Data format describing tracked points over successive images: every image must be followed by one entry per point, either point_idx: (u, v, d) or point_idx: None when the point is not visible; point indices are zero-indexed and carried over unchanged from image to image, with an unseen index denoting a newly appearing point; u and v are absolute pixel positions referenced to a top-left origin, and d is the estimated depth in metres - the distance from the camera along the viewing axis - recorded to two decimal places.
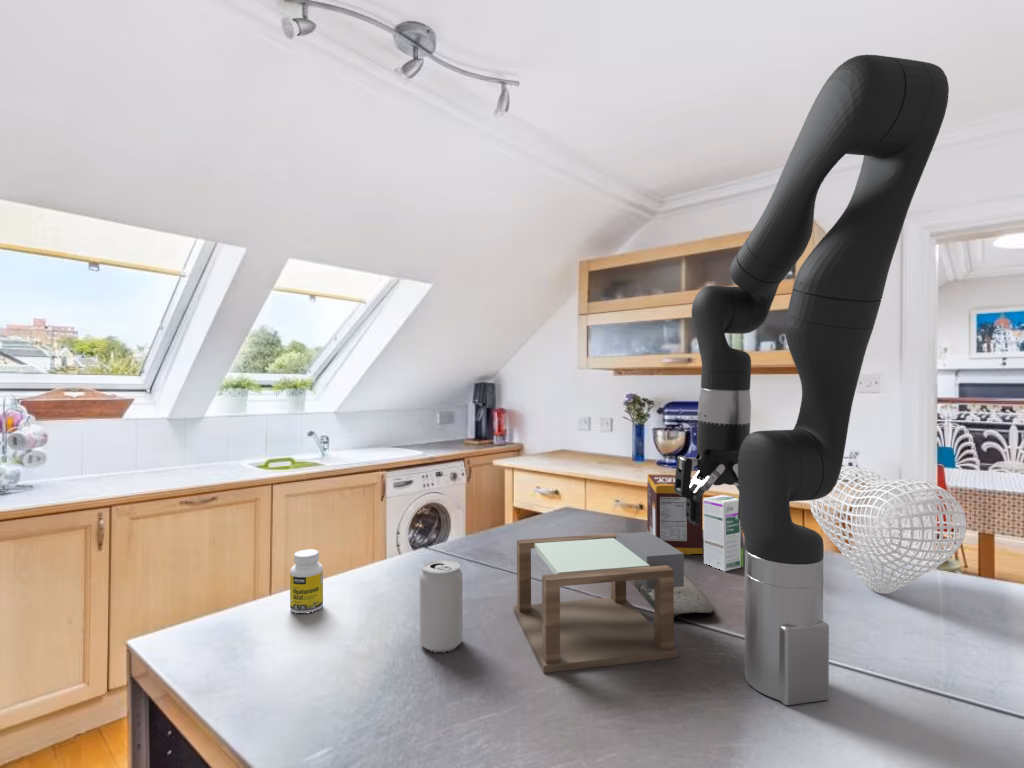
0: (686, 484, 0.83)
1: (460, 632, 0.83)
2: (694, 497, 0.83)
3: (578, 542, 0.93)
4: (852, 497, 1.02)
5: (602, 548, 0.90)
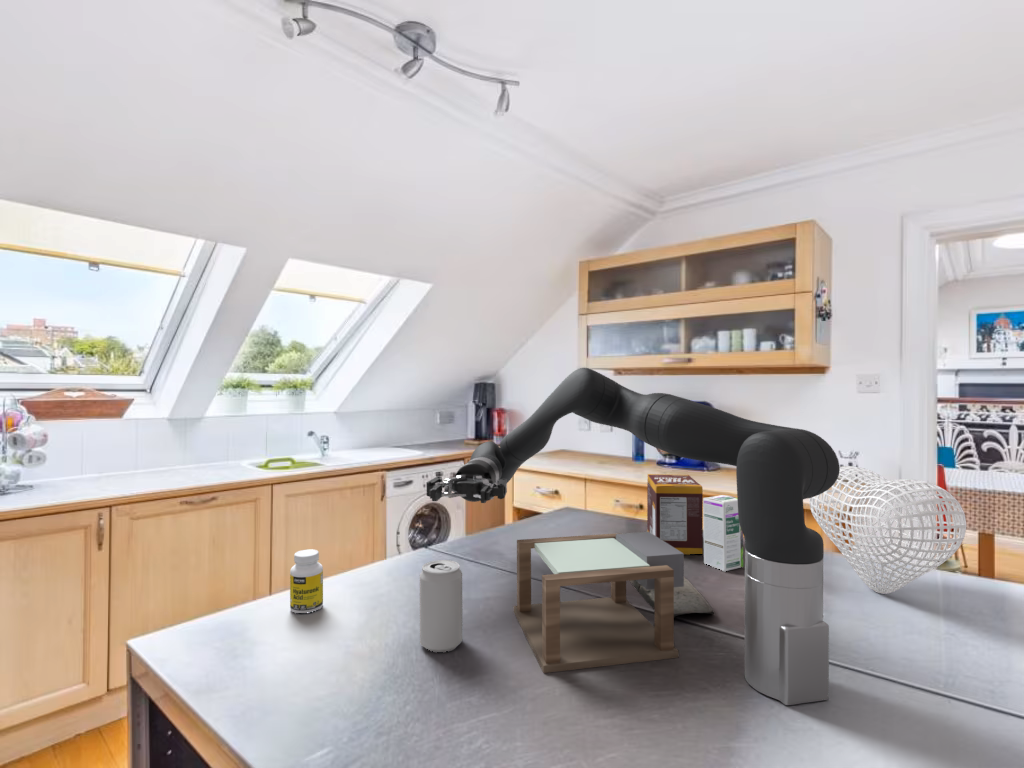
0: (432, 480, 1.02)
1: (460, 632, 0.83)
2: (436, 482, 1.00)
3: (578, 542, 0.93)
4: (852, 497, 1.02)
5: (602, 548, 0.90)
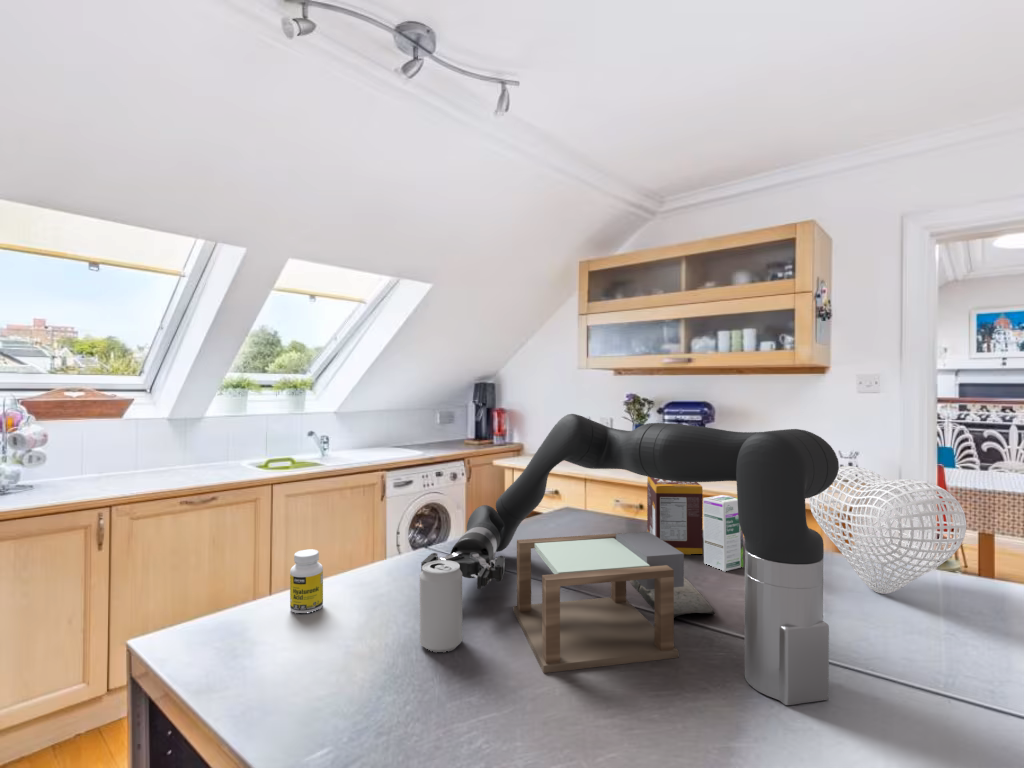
0: (428, 560, 0.98)
1: (460, 632, 0.83)
2: None
3: (578, 542, 0.93)
4: (852, 497, 1.02)
5: (602, 548, 0.90)
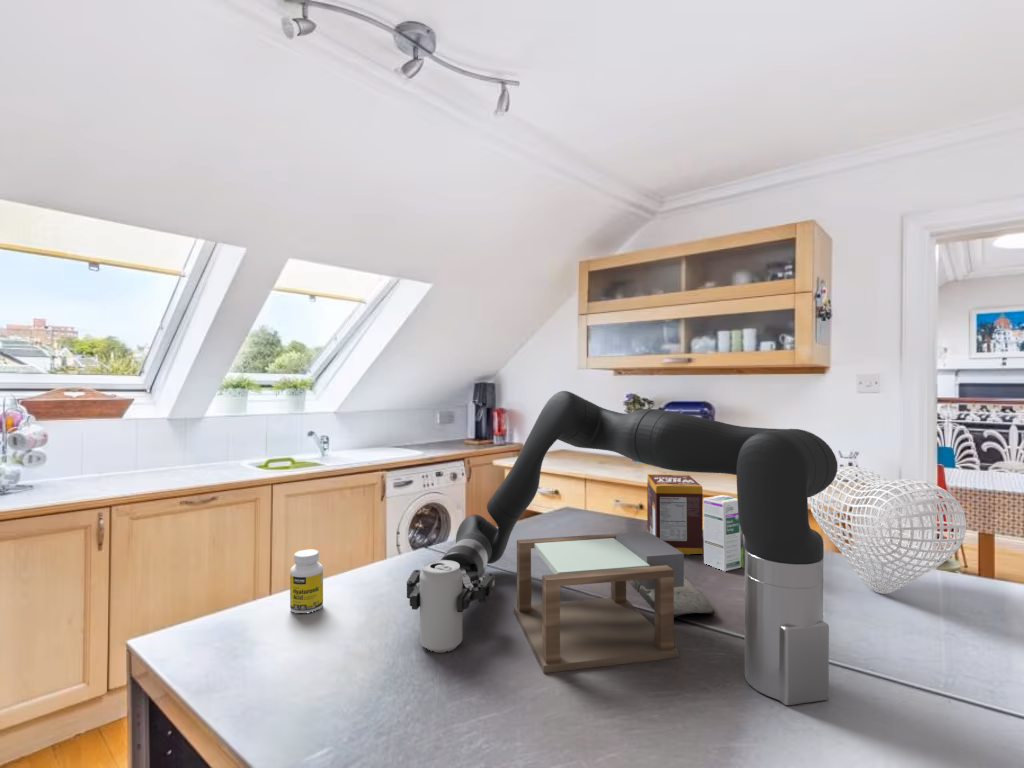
0: (413, 578, 0.88)
1: (460, 632, 0.83)
2: (418, 583, 0.86)
3: (578, 542, 0.93)
4: (852, 497, 1.02)
5: (602, 548, 0.90)
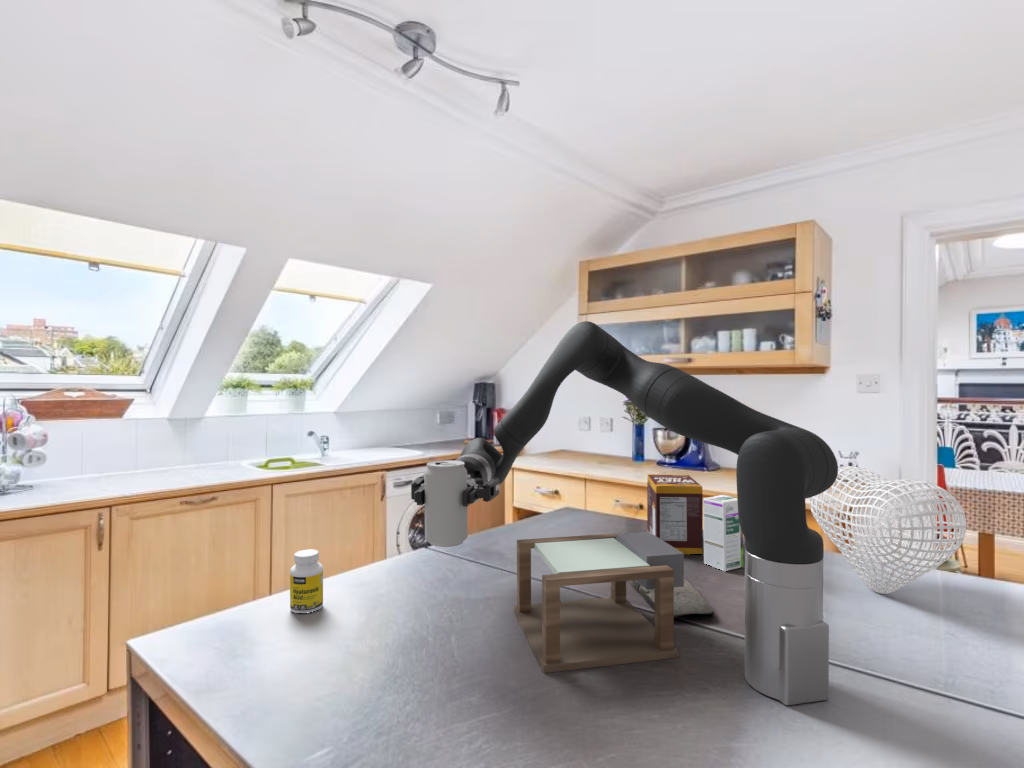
0: (417, 481, 0.88)
1: (465, 528, 0.82)
2: (422, 483, 0.86)
3: (578, 542, 0.93)
4: (852, 497, 1.02)
5: (602, 548, 0.90)
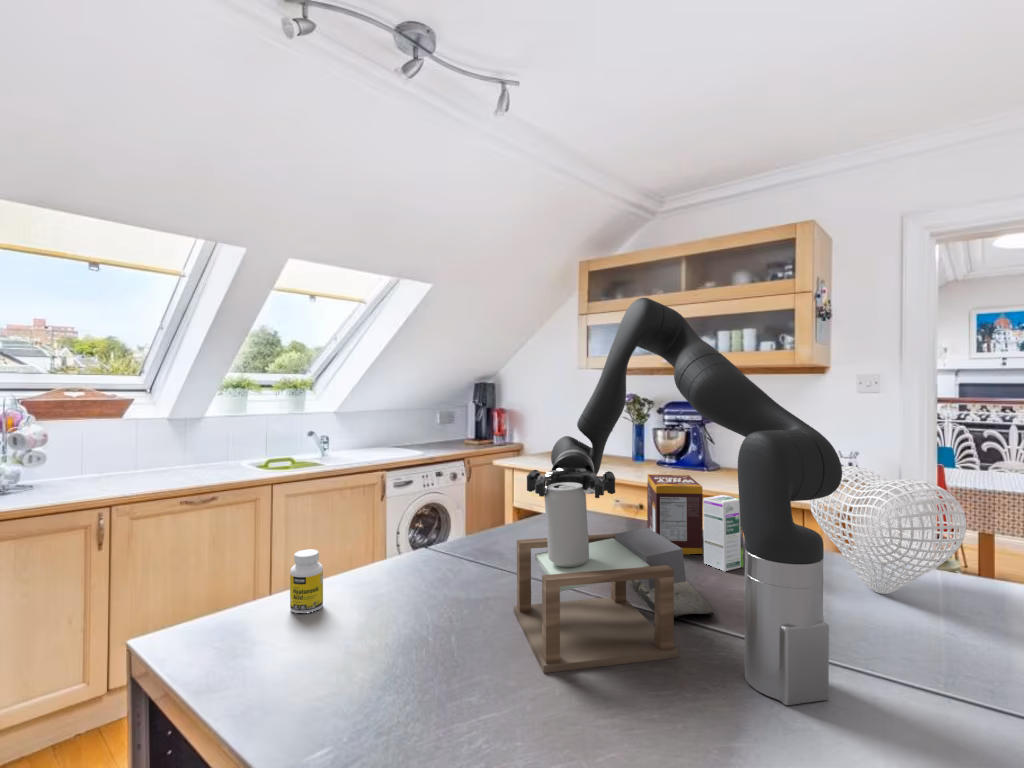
0: (532, 474, 0.92)
1: (588, 547, 0.86)
2: (539, 476, 0.90)
3: None
4: (852, 497, 1.02)
5: (601, 551, 0.90)
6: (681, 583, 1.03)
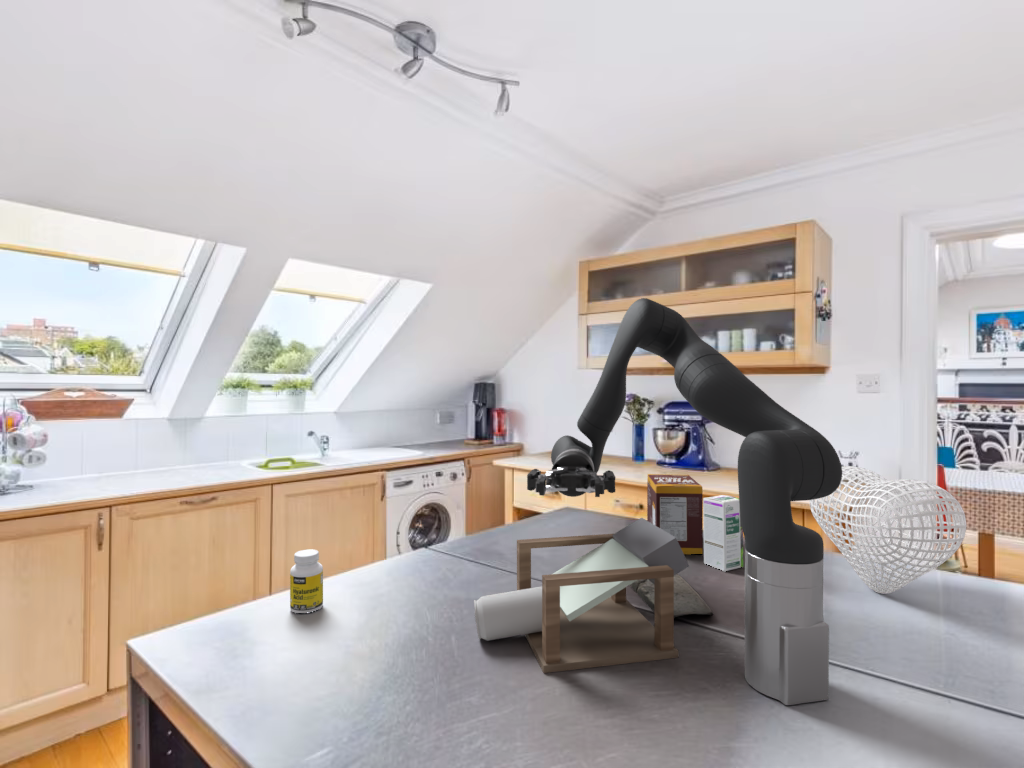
0: (532, 473, 0.92)
1: (536, 596, 0.84)
2: (539, 475, 0.90)
3: (581, 560, 0.93)
4: (852, 497, 1.02)
5: (603, 560, 0.90)
6: (680, 583, 1.03)
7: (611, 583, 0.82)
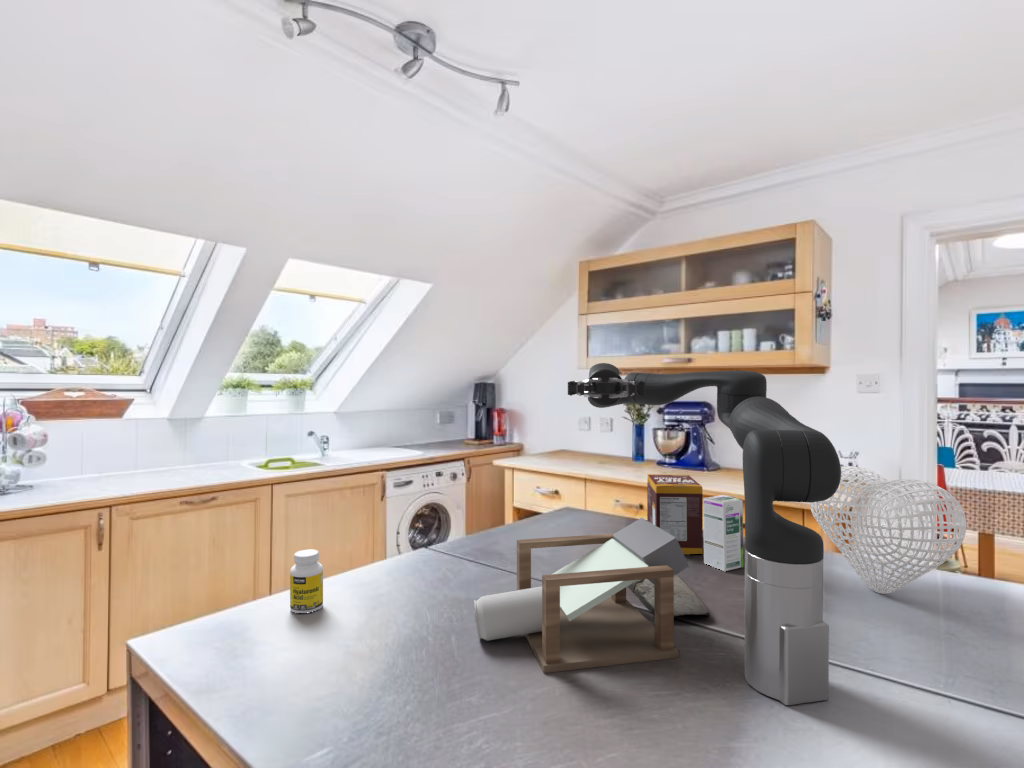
0: None
1: (536, 596, 0.84)
2: None
3: (581, 560, 0.93)
4: (852, 497, 1.02)
5: (603, 560, 0.90)
6: (678, 584, 1.03)
7: (611, 583, 0.82)
